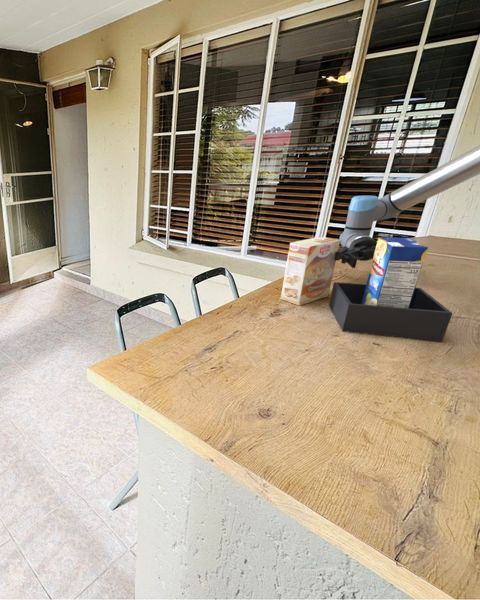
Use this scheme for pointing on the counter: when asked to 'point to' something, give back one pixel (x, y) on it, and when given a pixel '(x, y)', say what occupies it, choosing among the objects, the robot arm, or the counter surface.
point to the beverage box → (394, 272)
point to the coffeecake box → (309, 270)
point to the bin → (389, 314)
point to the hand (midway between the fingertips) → (383, 264)
